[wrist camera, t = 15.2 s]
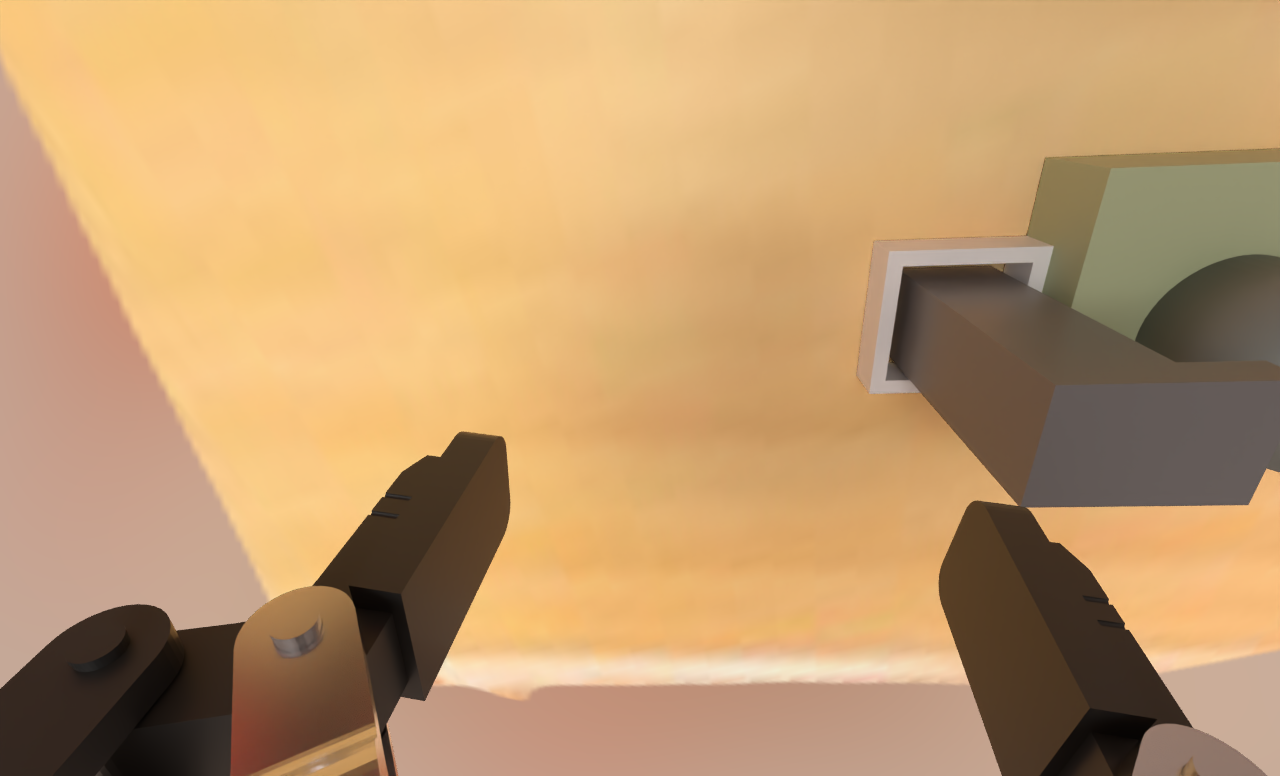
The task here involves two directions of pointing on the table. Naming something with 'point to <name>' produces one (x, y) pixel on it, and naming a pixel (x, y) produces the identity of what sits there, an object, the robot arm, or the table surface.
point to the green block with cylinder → (1126, 257)
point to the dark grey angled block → (1080, 398)
